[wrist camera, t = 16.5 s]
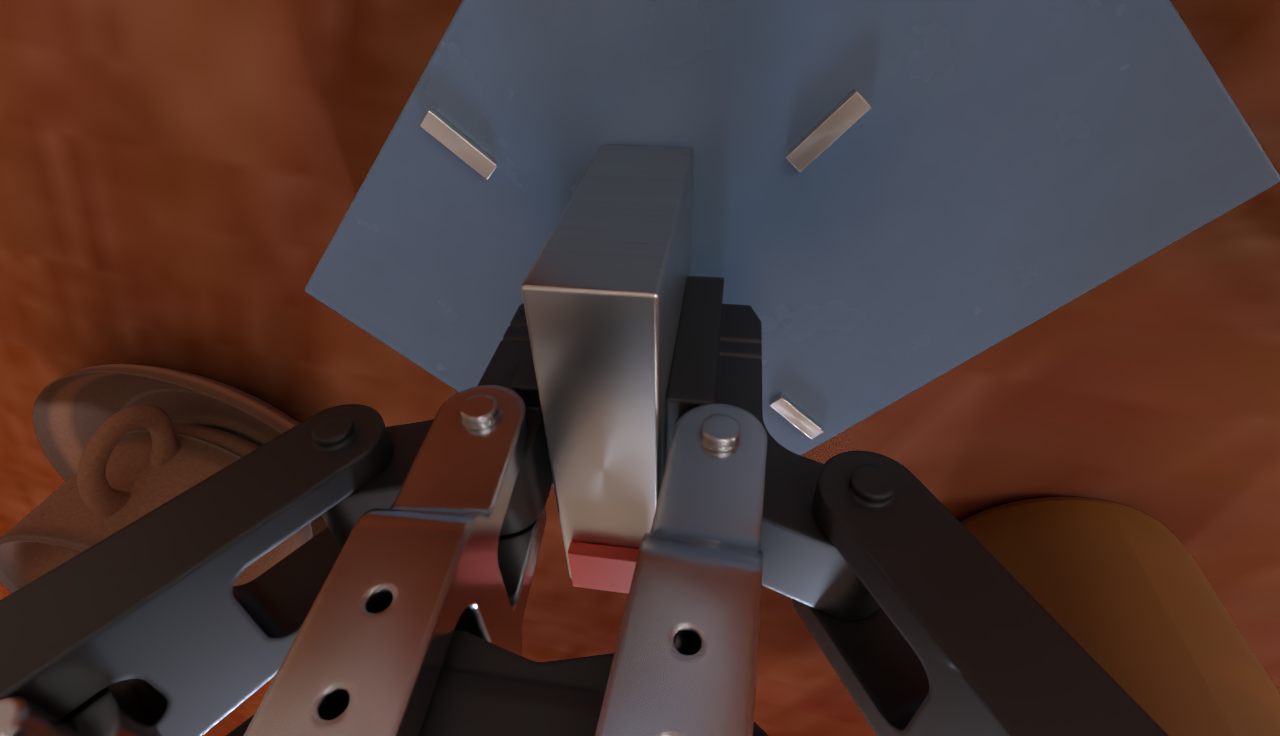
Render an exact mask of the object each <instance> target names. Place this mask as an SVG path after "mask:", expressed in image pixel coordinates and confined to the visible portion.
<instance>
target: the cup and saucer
mask: <svg viewBox="0 0 1280 736" xmlns="http://www.w3.org/2000/svg"><path fill="white" fill-rule="evenodd" d="M298 424H299V422H298V421H296V420H295V419H293V418H292V417H290V416H288V415H287V414H285V413H284V412H282V411H280V410H279V409H277V408H275V407H273V406H272V405H270V404H268V403H266V402H264V401H262V400H260V399H258V398H256V397H254V396H252V395H250V394H248V393H246V392H243V391H241V390H239V389H237V388H234V387H232V386H229V385H227V384H224V383H221V382H219V381H216V380H213V379H210V378H207V377H204V376H200V375H196V374H193V373H189V372H185V371H180V370H175V369H170V368H163V367H155V366H144V365H133V364H104V365H97V366H91V367H87V368H84V369H80V370H77V371H74V372H72V373H70V374H68V375H65V376H63V377H61V378H59V379H57V380H55V381H53V382H52V383H50V384H49V385H48V386H47V387H45V388H44V389H43V390H42V392H41V393H40V394H39V395H38V397H37V399H36V402H35V404H34V409H33V425H34V430H35V434H36V436H37V439H38V442H39V444H40V446H41V448H42V450H43V452H44V454H45V455H46V457H47V458H48V460H49V461H50V463H51V464H52V466H53V467H54V468H55V470H56V471H57V472H58V473H59V475H60V476H61V477H62V478H63V479H64V480H65V481H66V482H65V483H64V484H63V485H61V486H60V487H59V488H58V489H57V490H56V491H55V492H53V493H52V494H51V495H50V496H49V497H48V498H46V499H45V500H44V501H43V502H42V503H41V504H40V505H38V506H37V507H36V508H35V509H34V510H33V511H31V512H30V513H29V514H28V515H27V516H26V517H25V518H23V519H22V520H21V521H20V522H19V523H18V524H16V525H15V526H14V527H13V528H12V529H11V530H9V531H8V532H7V533H6V534H5V535H4V536H3V537H1V538H0V583H1V584H2V585H3V586H4V587H5V588H6V589H7V590H8V591H10V592H11V593H14V592H15V591H17V590H19V589H20V588H22V587H24V586H25V585H27V584H29V583H30V582H32V581H34V580H36V579H37V578H39V577H41V576H42V575H44V574H46V573H47V572H49V571H51V570H52V569H54V568H56V567H58V566H59V565H61V564H63V563H64V562H66V561H68V560H69V559H71V558H73V557H74V556H76V555H78V554H80V553H81V552H83V551H85V550H86V549H88V548H90V547H91V546H93V545H95V544H96V543H98V542H100V541H102V540H103V539H105V538H107V537H108V536H110V535H112V534H113V533H115V532H117V531H118V530H120V529H122V528H123V527H125V526H127V525H129V524H130V523H132V522H134V521H135V520H137V519H139V518H140V517H142V516H144V515H145V514H147V513H149V512H151V511H152V510H154V509H156V508H157V507H159V506H161V505H162V504H164V503H166V502H167V501H169V500H171V499H173V498H174V497H176V496H178V495H179V494H181V493H183V492H184V491H186V490H188V489H189V488H191V487H193V486H194V485H196V484H198V483H200V482H201V481H203V480H205V479H206V478H208V477H210V476H211V475H213V474H215V473H216V472H218V471H220V470H222V469H223V468H225V467H227V466H228V465H230V464H232V463H233V462H235V461H237V460H238V459H240V458H242V457H244V456H245V455H247V454H249V453H250V452H252V451H254V450H255V449H257V448H259V447H260V446H262V445H264V444H266V443H267V442H269V441H271V440H272V439H274V438H276V437H277V436H279V435H281V434H282V433H284V432H286V431H287V430H289V429H291V428H293V427H294V426H296V425H298ZM327 527H328V526H327V524H326V523H325V521H324V519H323V517H322V516H321V515H320V516H319V517H318V518H316V519H315V520H313V521H312V522H310V523H309V524H308V525H306V526H305V527H303V528H302V529H300V530H299V531H298V532H296V533H295V534H293V535H292V536H290V537H289V538H288V539H286V540H285V541H283V542H282V543H280V544H279V545H278V546H276V547H275V548H273V549H272V550H270V551H269V552H268V553H266V554H265V555H263V556H262V557H260V558H259V559H258V560H256V561H255V562H253V563H252V564H251V565H249V566H248V567H247V568H246V569H245V570H243V571H242V573H241V574H240V575H239V576H238V578H237V579H236V581H235V583H234V586H238V585H243V584H246V583H248V582H250V581H252V580H254V579H255V578H257V577H258V576H260V575H261V574H263V573H264V572H265V571H267V570H268V569H270V568H271V567H272V566H274V565H275V564H276V563H278V562H279V561H281V560H282V559H283V558H285V557H286V556H288V555H289V554H290V553H292V552H293V551H295V550H296V549H297V548H299V547H300V546H302V545H303V544H304V543H306V542H307V541H309V540H310V539H311V538H313V537H314V536H316V535H317V534H318V533H320V532H321V531H323V530H324V529H325V528H327Z"/></svg>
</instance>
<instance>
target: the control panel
mask: <svg viewBox="0 0 1280 736" xmlns="http://www.w3.org/2000/svg"><path fill="white" fill-rule="evenodd" d="M601 145H625V146H654V147H683V148H692V149H693V152H694V153H693V180H692V208H691V235H690V263H689V276H705V277H722V278H724V287H723V300H722V304H738V305H750V306H751V307H752V309H753V310H754V312H755V313H756V315H757V316H758V318H759V319H760V321H761V322H762V343H761V344H762V411H763V421H764V424H765V427H766V429H767V430H768V432H769V433H770V435H771V436H772V437H773V438H774V439H775V440H776V441H777V442H778V443H779V444H780V445H782V446H783V447H784V448H786V449H788V450H789V451H791V452H793V453H795V454H798V455H802V454H804V453H806V452H807V451H809V450H811V449H813V448H814V447H816V446H818V445H820V444H821V443H823V442H825V441H827V440H828V439H830V438H832V437H834V436H835V435H837V434H839V433H841V432H842V431H844V430H846V429H848V428H850V427H851V426H853V425H855V424H857V423H858V422H860V421H862V420H864V419H865V418H867V417H869V416H871V415H872V414H874V413H876V412H878V411H879V410H881V409H883V408H885V407H886V406H888V405H890V404H892V403H893V402H895V401H897V400H899V399H900V398H902V397H904V396H906V395H907V394H909V393H911V392H913V391H914V390H916V389H918V388H920V387H921V386H923V385H925V384H927V383H928V382H930V381H932V380H934V379H935V378H937V377H939V376H941V375H942V374H944V373H946V372H948V371H949V370H951V369H953V368H955V367H956V366H958V365H960V364H962V363H963V362H965V361H967V360H969V359H971V358H972V357H974V356H976V355H978V354H979V353H981V352H983V351H985V350H986V349H988V348H990V347H992V346H993V345H995V344H997V343H999V342H1000V341H1002V340H1004V339H1006V338H1007V337H1009V336H1011V335H1013V334H1014V333H1016V332H1018V331H1020V330H1021V329H1023V328H1025V327H1027V326H1028V325H1030V324H1032V323H1034V322H1035V321H1037V320H1039V319H1041V318H1042V317H1044V316H1046V315H1048V314H1049V313H1051V312H1053V311H1055V310H1056V309H1058V308H1060V307H1062V306H1063V305H1065V304H1067V303H1069V302H1070V301H1072V300H1074V299H1076V298H1077V297H1079V296H1081V295H1083V294H1085V293H1086V292H1088V291H1090V290H1092V289H1093V288H1095V287H1097V286H1099V285H1100V284H1102V283H1104V282H1106V281H1107V280H1109V279H1111V278H1113V277H1114V276H1116V275H1118V274H1120V273H1121V272H1123V271H1125V270H1127V269H1128V268H1130V267H1132V266H1134V265H1135V264H1137V263H1139V262H1141V261H1142V260H1144V259H1146V258H1148V257H1149V256H1151V255H1153V254H1155V253H1156V252H1158V251H1160V250H1162V249H1163V248H1165V247H1167V246H1169V245H1170V244H1172V243H1174V242H1176V241H1177V240H1179V239H1181V238H1183V237H1184V236H1186V235H1188V234H1190V233H1191V232H1193V231H1195V230H1197V229H1199V228H1200V227H1202V226H1204V225H1206V224H1207V223H1209V222H1211V221H1213V220H1214V219H1216V218H1218V217H1220V216H1221V215H1223V214H1225V213H1227V212H1228V211H1230V210H1232V209H1234V208H1235V207H1237V206H1239V205H1241V204H1242V203H1244V202H1246V201H1248V200H1249V199H1251V198H1253V197H1255V196H1256V195H1258V194H1260V193H1262V192H1263V191H1265V190H1267V189H1269V188H1270V187H1272V186H1274V185H1276V184H1277V183H1279V182H1280V175H1279V173H1278V172H1277V170H1276V169H1275V167H1274V165H1273V164H1272V162H1271V160H1270V159H1269V157H1268V156H1267V154H1266V152H1265V151H1264V149H1263V148H1262V146H1261V144H1260V143H1259V141H1258V140H1257V138H1256V136H1255V135H1254V133H1253V132H1252V130H1251V128H1250V127H1249V125H1248V124H1247V122H1246V120H1245V119H1244V117H1243V116H1242V114H1241V112H1240V111H1239V109H1238V108H1237V106H1236V104H1235V103H1234V101H1233V100H1232V98H1231V96H1230V95H1229V93H1228V92H1227V90H1226V88H1225V87H1224V85H1223V84H1222V82H1221V80H1220V79H1219V77H1218V75H1217V74H1216V72H1215V71H1214V69H1213V67H1212V66H1211V64H1210V63H1209V61H1208V59H1207V58H1206V56H1205V55H1204V53H1203V51H1202V50H1201V48H1200V47H1199V45H1198V43H1197V42H1196V40H1195V39H1194V37H1193V35H1192V34H1191V32H1190V31H1189V29H1188V27H1187V26H1186V24H1185V23H1184V21H1183V19H1182V18H1181V16H1180V15H1179V13H1178V11H1177V10H1176V8H1175V7H1174V5H1173V3H1172V2H1171V0H462V2H461V4H460V6H459V8H458V9H457V11H456V13H455V15H454V17H453V18H452V20H451V22H450V24H449V26H448V28H447V29H446V31H445V33H444V35H443V37H442V39H441V40H440V42H439V44H438V46H437V48H436V50H435V51H434V53H433V55H432V57H431V59H430V60H429V62H428V64H427V66H426V68H425V70H424V71H423V73H422V75H421V77H420V79H419V81H418V82H417V84H416V86H415V88H414V90H413V91H412V93H411V95H410V97H409V99H408V101H407V102H406V104H405V106H404V108H403V110H402V112H401V113H400V115H399V117H398V119H397V121H396V123H395V124H394V126H393V128H392V130H391V132H390V133H389V135H388V137H387V139H386V141H385V143H384V144H383V146H382V148H381V150H380V152H379V154H378V155H377V157H376V159H375V161H374V163H373V165H372V166H371V168H370V170H369V172H368V174H367V175H366V177H365V179H364V181H363V183H362V185H361V186H360V188H359V190H358V192H357V194H356V196H355V197H354V199H353V201H352V203H351V205H350V206H349V208H348V210H347V212H346V214H345V216H344V217H343V219H342V221H341V223H340V225H339V227H338V228H337V230H336V232H335V234H334V236H333V238H332V239H331V241H330V243H329V245H328V247H327V248H326V250H325V252H324V254H323V256H322V258H321V259H320V261H319V263H318V265H317V267H316V269H315V270H314V272H313V274H312V276H311V278H310V279H309V281H308V283H307V285H306V287H305V289H304V291H305V292H306V293H308V294H310V295H311V296H313V297H314V298H316V299H317V300H319V301H320V302H322V303H323V304H325V305H326V306H328V307H329V308H331V309H332V310H334V311H335V312H337V313H339V314H340V315H342V316H343V317H345V318H346V319H348V320H349V321H351V322H352V323H354V324H355V325H357V326H358V327H360V328H361V329H363V330H365V331H366V332H368V333H369V334H371V335H372V336H374V337H375V338H377V339H378V340H380V341H381V342H383V343H384V344H386V345H387V346H389V347H391V348H392V349H394V350H395V351H397V352H398V353H400V354H401V355H403V356H404V357H406V358H407V359H409V360H410V361H412V362H413V363H415V364H417V365H418V366H420V367H421V368H423V369H424V370H426V371H427V372H429V373H430V374H432V375H433V376H435V377H436V378H438V379H439V380H441V381H443V382H444V383H446V384H447V385H449V386H450V387H452V388H453V389H455V390H456V391H458V392H461V391H463V390H466V389H468V388H472V387H476V386H477V385H478V384H479V382H480V380H481V378H482V376H483V374H484V372H485V370H486V368H487V366H488V364H489V363H490V361H491V359H492V357H493V355H494V353H495V351H496V349H497V347H498V345H499V343H500V342H501V340H503V336H504V334H505V332H506V330H507V328H508V326H510V322H511V321H512V319H513V317H514V315H515V313H516V311H517V309H518V307H519V306H520V305H521V304H522V303H524V302H523V296H522V290H521V286H522V284H523V282H524V280H525V278H526V277H527V275H528V273H529V271H530V270H531V268H532V266H533V264H534V263H535V261H536V259H537V257H538V255H539V254H540V252H541V250H542V248H543V247H544V245H545V243H546V241H547V239H548V238H549V236H550V234H551V232H552V231H553V229H554V227H555V225H556V224H557V222H558V220H559V218H560V216H561V215H562V213H563V211H564V209H565V208H566V206H567V204H568V202H569V200H570V199H571V197H572V195H573V193H574V192H575V190H576V188H577V186H578V185H579V183H580V181H581V179H582V177H583V176H584V174H585V172H586V170H587V169H588V167H589V165H590V163H591V161H592V160H593V158H594V156H595V154H596V153H597V151H598V149H599V147H600V146H601Z"/></svg>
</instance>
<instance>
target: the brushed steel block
mask: <svg viewBox="0 0 1280 736" xmlns="http://www.w3.org/2000/svg"><path fill="white" fill-rule="evenodd" d="M693 153H694V152H693V149H692V148H683V147H654V146H625V145H601V146H600V147H599V149H598V151H597V153H596V154H595V156H594V158H593V160H592V161H591V163H590V165H589V167H588V169H587V170H586V172H585V174H584V176H583V177H582V179H581V181H580V183H579V185H578V186H577V188H576V190H575V192H574V193H573V195H572V197H571V199H570V200H569V202H568V204H567V206H566V208H565V209H564V211H563V213H562V215H561V216H560V218H559V220H558V222H557V224H556V225H555V227H554V229H553V231H552V232H551V234H550V236H549V238H548V239H547V241H546V243H545V245H544V247H543V248H542V250H541V252H540V254H539V255H538V257H537V259H536V261H535V263H534V264H533V266H532V268H531V270H530V271H529V273H528V275H527V277H526V278H525V280H524V282H523V284H522V286H521V290H522V296H523V302H524V308H525V314H526V320H527V326H528V332H529V338H530V344H531V350H532V356H533V362H534V368H535V374H536V380H537V386H538V392H539V398H540V404H541V410H542V416H543V422H544V428H545V434H546V440H547V446H548V452H549V458H550V464H551V470H552V476H553V482H554V488H555V494H556V500H557V506H558V512H559V518H560V524H561V530H562V536H563V542H564V548H565V554H566V560H567V566H568V572H569V577H570V578H572V583H573V586H575V587H582V588H590V589H598V590H606V591H613V592H621V593H629V591H630V586H631V582H632V578H633V574H634V570H635V565H636V561H637V557H638V553H639V549H640V545H641V542H642V539H643V537H644V534H645V533H650V531H651V528H652V524H653V520H654V515H655V511H656V506H657V502H658V498H659V493H660V489H661V484H662V480H663V476H664V471H665V454H666V396H667V390H668V384H669V378H670V372H671V366H672V360H673V354H674V348H675V342H676V336H677V330H678V324H679V318H680V313H681V307H682V301H683V296H684V290H685V284H686V279H687V276H689V263H690V235H691V208H692V180H693Z"/></svg>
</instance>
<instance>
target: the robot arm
mask: <svg viewBox="0 0 1280 736" xmlns="http://www.w3.org/2000/svg"><path fill="white" fill-rule="evenodd" d="M723 287H724V278H722V277H705V276H687V279H686V284H685V290H684V296H683V301H682V307H681V313H680V318H679V324H678V330H677V336H676V342H675V348H674V354H673V360H672V366H671V372H670V378H669V384H668V390H667V396H666V454H665V471H664V476H663V480H662V484H661V489H660V493H659V498H658V502H657V506H656V511H655V515H654V520H653V524H652V528H651V531H650V533H645V534H644V537H643V539H642V542H641V545H640V549H639V553H638V557H637V561H636V565H635V570H634V574H633V578H632V582H631V586H630V591H629V595H628V599H627V603H626V607H625V612H624V616H623V620H622V624H621V628H620V632H619V637H618V641H617V645H616V649H615V653H613V654H605V655H597V656H589V657H581V658H574V659H566V660H558V661H550V662H534V661H531V660H528V659H526V658H524V657H522V656H521V650H522V622H523V616H524V611H525V607H526V603H527V599H528V594H529V590H530V586H531V582H532V578H533V574H534V570H535V566H536V561H537V557H538V553H539V549H540V545H541V541H542V537H543V533H544V528H545V524H546V511H545V505H546V502H547V499H548V496H549V492H550V489H551V487H554V482H553V476H552V470H551V464H550V458H549V452H548V446H547V440H546V434H545V428H544V422H543V416H542V410H541V404H540V398H539V392H538V386H537V380H536V374H535V368H534V362H533V356H532V350H531V344H530V338H529V332H528V326H527V320H526V314H525V308H524V303H522V304H521V305H520V306H519V307H518V309H517V311H516V313H515V315H514V317H513V319H512V321H511V322H510V326H508V328H507V330H506V332H505V334H504V336H503V340H501V342H500V343H499V345H498V347H497V349H496V351H495V353H494V355H493V357H492V359H491V361H490V363H489V364H488V366H487V368H486V370H485V372H484V374H483V376H482V378H481V380H480V382H479V384H478V385H477V386H476V387H472V388H468V389H466V390H463V391H461V392H459V393H457V394H455V395H454V396H452V397H451V398H449V399H448V400H447V401H446V402H445V403H444V404H443V405H442V406H441V408H440V409H439V411H438V413H437V415H436V417H435V419H432V420H428V421H423V422H417V423H410V424H404V425H398V426H391V427H385V424H384V422H383V420H382V417H381V416H380V414H379V413H378V412H377V411H376V410H374V409H372V408H371V407H368V406H365V405H358V404H348V405H340V406H335V407H332V408H329V409H326V410H323V411H321V412H319V413H317V414H315V415H313V416H311V417H309V418H308V419H306V420H304V421H303V422H301V423H299V424H298V425H296V426H294V427H293V428H291V429H289V430H287V431H286V432H284V433H282V434H281V435H279V436H277V437H276V438H274V439H272V440H271V441H269V442H267V443H266V444H264V445H262V446H260V447H259V448H257V449H255V450H254V451H252V452H250V453H249V454H247V455H245V456H244V457H242V458H240V459H238V460H237V461H235V462H233V463H232V464H230V465H228V466H227V467H225V468H223V469H222V470H220V471H218V472H216V473H215V474H213V475H211V476H210V477H208V478H206V479H205V480H203V481H201V482H200V483H198V484H196V485H194V486H193V487H191V488H189V489H188V490H186V491H184V492H183V493H181V494H179V495H178V496H176V497H174V498H173V499H171V500H169V501H167V502H166V503H164V504H162V505H161V506H159V507H157V508H156V509H154V510H152V511H151V512H149V513H147V514H145V515H144V516H142V517H140V518H139V519H137V520H135V521H134V522H132V523H130V524H129V525H127V526H125V527H123V528H122V529H120V530H118V531H117V532H115V533H113V534H112V535H110V536H108V537H107V538H105V539H103V540H102V541H100V542H98V543H96V544H95V545H93V546H91V547H90V548H88V549H86V550H85V551H83V552H81V553H80V554H78V555H76V556H74V557H73V558H71V559H69V560H68V561H66V562H64V563H63V564H61V565H59V566H58V567H56V568H54V569H52V570H51V571H49V572H47V573H46V574H44V575H42V576H41V577H39V578H37V579H36V580H34V581H32V582H30V583H29V584H27V585H25V586H24V587H22V588H20V589H19V590H17V591H15V592H14V593H12V594H10V595H9V596H7V597H5V598H3V599H2V600H0V736H203V735H204V734H205V733H206V732H207V731H209V730H210V729H211V728H212V727H213V726H215V725H216V724H217V723H218V722H219V721H221V720H222V719H223V718H224V717H225V716H227V715H228V714H229V713H230V712H232V711H233V710H234V709H235V708H236V707H238V706H239V705H240V704H241V703H242V702H244V701H245V700H246V699H247V698H248V697H250V696H251V695H252V694H253V693H255V692H256V691H257V690H258V689H259V688H261V687H262V686H263V685H264V684H265V683H267V682H268V681H269V680H270V679H271V678H273V677H274V676H275V677H274V679H273V681H272V683H271V685H270V687H269V688H268V690H267V692H266V694H265V696H264V698H263V700H262V702H261V704H260V706H259V707H258V709H257V711H256V713H255V714H254V715H253V716H252V717H250V718H249V719H248V720H246V721H245V722H244V723H242V724H241V725H240V726H238V727H237V728H236V729H234V730H233V731H232V732H230V733H229V734H228V735H226V736H768V735H767V734H766V733H765V732H764V731H763V730H762V729H761V728H760V727H759V726H758V725H757V724H756V723H755V722H754V707H755V690H756V673H757V656H758V639H759V622H760V605H761V588H762V585H763V586H765V587H767V588H769V589H772V590H774V591H776V592H778V593H781V594H783V595H785V596H787V597H790V598H792V601H793V604H794V607H795V608H796V610H797V612H798V614H799V615H800V617H801V618H802V620H803V622H804V623H805V625H806V626H807V628H808V629H809V631H810V632H811V634H812V636H813V637H814V639H815V640H816V642H817V643H818V645H819V646H820V648H821V650H822V651H823V653H824V654H825V656H826V657H827V659H828V660H829V662H830V664H831V665H832V667H833V668H834V670H835V671H836V673H837V674H838V676H839V678H840V679H841V681H842V682H843V684H844V685H845V687H846V688H847V690H848V692H849V693H850V695H851V696H852V698H853V699H854V701H855V702H856V704H857V706H858V707H859V709H860V710H861V712H862V713H863V715H864V717H865V718H866V720H867V721H868V723H869V724H870V726H871V727H872V729H873V731H874V732H875V734H876V735H877V736H1169V735H1168V734H1167V733H1166V732H1165V731H1164V730H1163V729H1162V728H1161V727H1160V726H1159V725H1158V724H1157V723H1156V722H1155V721H1154V720H1153V719H1152V718H1151V717H1150V716H1149V715H1148V714H1147V713H1146V712H1145V711H1144V710H1143V709H1142V708H1141V707H1140V706H1139V705H1138V704H1137V703H1136V702H1135V701H1134V700H1133V698H1132V697H1131V696H1130V695H1129V694H1128V693H1127V692H1126V691H1125V690H1124V689H1123V688H1122V687H1121V686H1120V685H1119V684H1118V683H1117V682H1116V681H1115V680H1114V679H1113V678H1112V677H1111V676H1110V675H1109V674H1108V673H1107V672H1106V671H1105V670H1104V669H1103V668H1102V667H1101V666H1100V665H1099V664H1098V663H1097V662H1096V661H1095V660H1094V659H1093V658H1092V657H1091V656H1090V655H1089V654H1088V653H1087V652H1086V650H1085V649H1084V648H1083V647H1082V646H1081V645H1080V644H1079V643H1078V642H1077V641H1076V640H1075V639H1074V638H1073V637H1072V636H1071V635H1070V634H1069V633H1068V632H1067V631H1066V630H1065V629H1064V628H1063V627H1062V626H1061V625H1060V624H1059V623H1058V622H1057V621H1056V620H1055V619H1054V618H1053V617H1052V616H1051V615H1050V614H1049V613H1048V612H1047V611H1046V610H1045V609H1044V608H1043V607H1042V606H1041V605H1040V604H1039V602H1038V601H1037V600H1036V599H1035V598H1034V597H1033V596H1032V595H1031V594H1030V593H1029V592H1028V591H1027V590H1026V589H1025V588H1024V587H1023V586H1022V585H1021V584H1020V583H1019V582H1018V581H1017V580H1016V579H1015V578H1014V577H1013V576H1012V575H1011V574H1010V573H1009V572H1008V571H1007V570H1006V569H1005V568H1004V567H1003V566H1002V565H1001V564H1000V563H999V562H998V561H997V560H996V559H995V558H994V557H993V556H992V555H991V553H990V552H989V551H988V550H987V549H986V548H985V547H984V546H983V545H982V544H981V543H980V542H979V541H978V540H977V539H976V538H975V537H974V536H973V535H972V534H971V533H970V532H969V531H968V530H967V529H966V528H965V527H964V526H963V525H962V524H961V523H960V522H959V521H958V520H957V519H956V518H955V517H954V516H953V515H952V514H951V513H950V512H949V511H948V510H947V509H946V508H945V507H944V505H943V504H942V503H941V502H940V501H939V500H938V499H937V498H936V497H935V496H934V495H933V494H932V493H931V492H930V491H929V490H928V489H927V488H926V487H925V486H924V485H923V484H922V483H921V482H920V481H919V480H918V479H917V478H916V477H915V476H914V475H913V474H912V473H911V472H910V471H909V470H908V469H907V468H905V467H904V466H903V465H901V464H900V463H898V462H896V461H895V460H893V459H891V458H889V457H886V456H883V455H881V454H877V453H873V452H867V451H849V452H844V453H840V454H838V455H836V456H833V457H832V458H831V459H829V460H828V461H827V462H826V463H825V464H822V463H820V462H817V461H814V460H811V459H808V458H805V457H802V456H800V455H798V454H795V453H793V452H791V451H789V450H788V449H786V448H784V447H783V446H782V445H780V444H779V443H778V442H777V441H776V440H775V439H774V438H773V437H772V436H771V435H770V433H769V432H768V430H767V429H766V427H765V424H764V421H763V411H762V344H761V343H762V322H761V321H760V319H759V318H758V316H757V315H756V313H755V312H754V310H753V309H752V307H751V306H750V305H738V304H722V300H723ZM320 515H321V516H322V517H323V519H324V521H325V523H326V524H327V526H328V527H327V528H325V529H324V530H323V531H321V532H320V533H318V534H317V535H316V536H314V537H313V538H311V539H310V540H309V541H307V542H306V543H304V544H303V545H302V546H300V547H299V548H297V549H296V550H295V551H293V552H292V553H290V554H289V555H288V556H286V557H285V558H283V559H282V560H281V561H279V562H278V563H276V564H275V565H274V566H272V567H271V568H270V569H268V570H267V571H265V572H264V573H263V574H261V575H260V576H258V577H257V578H255V579H254V580H252V581H250V582H248V583H246V584H243V585H238V586H234V583H235V581H236V579H237V578H238V576H239V575H240V574H241V573H242V571H243V570H245V569H246V568H247V567H248V566H249V565H251V564H252V563H253V562H255V561H256V560H258V559H259V558H260V557H262V556H263V555H265V554H266V553H268V552H269V551H270V550H272V549H273V548H275V547H276V546H278V545H279V544H280V543H282V542H283V541H285V540H286V539H288V538H289V537H290V536H292V535H293V534H295V533H296V532H298V531H299V530H300V529H302V528H303V527H305V526H306V525H308V524H309V523H310V522H312V521H313V520H315V519H316V518H318V517H319V516H320Z"/></svg>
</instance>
